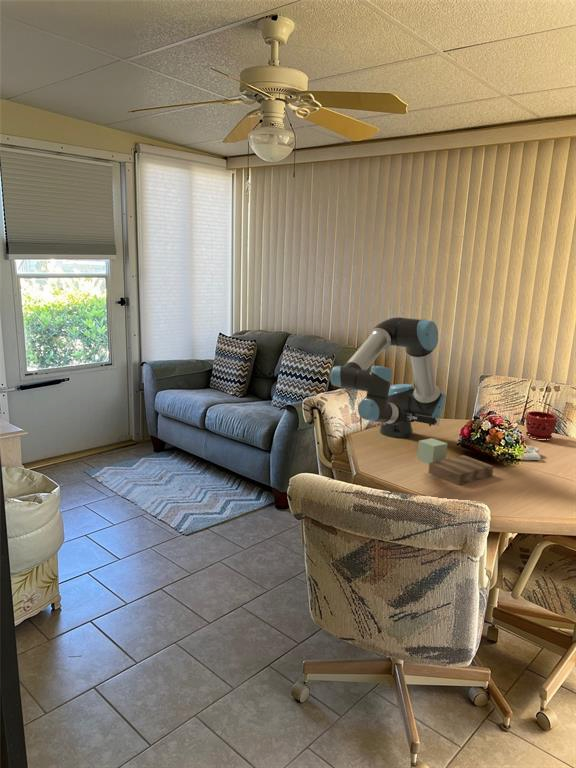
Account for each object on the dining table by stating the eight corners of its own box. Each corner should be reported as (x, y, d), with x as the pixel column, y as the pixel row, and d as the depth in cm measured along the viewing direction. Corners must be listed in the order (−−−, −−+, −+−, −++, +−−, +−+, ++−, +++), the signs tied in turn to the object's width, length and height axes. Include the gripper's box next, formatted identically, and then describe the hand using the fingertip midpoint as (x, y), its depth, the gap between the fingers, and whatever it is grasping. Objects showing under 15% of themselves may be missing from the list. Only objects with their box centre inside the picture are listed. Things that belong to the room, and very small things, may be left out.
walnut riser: (461, 464, 228) (463, 455, 227) (492, 475, 216) (493, 465, 216) (428, 472, 216) (429, 462, 215) (458, 485, 205) (459, 474, 204)
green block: (430, 456, 236) (432, 438, 234) (445, 462, 229) (447, 443, 228) (416, 459, 231) (418, 440, 229) (432, 465, 225) (434, 446, 223)
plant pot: (520, 433, 278) (523, 409, 276) (548, 436, 277) (552, 412, 274) (527, 441, 266) (531, 416, 263) (557, 444, 264) (561, 419, 262)
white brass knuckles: (505, 461, 236) (491, 450, 250) (547, 463, 237) (530, 451, 251) (506, 453, 235) (492, 443, 249) (548, 455, 236) (531, 444, 251)
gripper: (362, 418, 216) (395, 423, 231) (418, 429, 198) (449, 434, 212) (366, 399, 216) (399, 405, 231) (421, 408, 198) (453, 414, 213)
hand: (423, 419), depth 222 cm, fingers open, 13 cm apart
